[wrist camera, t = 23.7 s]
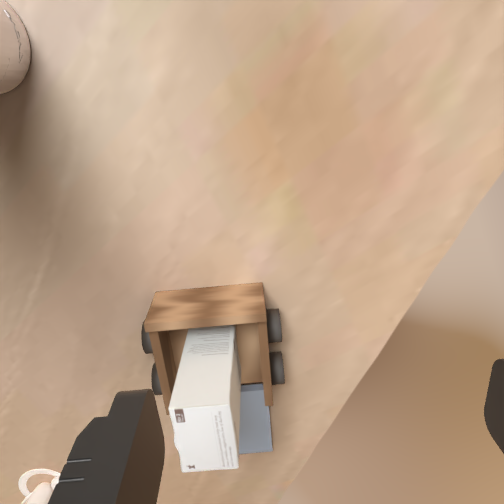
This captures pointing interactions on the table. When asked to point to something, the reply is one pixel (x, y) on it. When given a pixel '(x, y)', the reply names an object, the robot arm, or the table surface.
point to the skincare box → (207, 400)
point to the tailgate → (254, 421)
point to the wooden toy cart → (206, 315)
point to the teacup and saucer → (38, 487)
